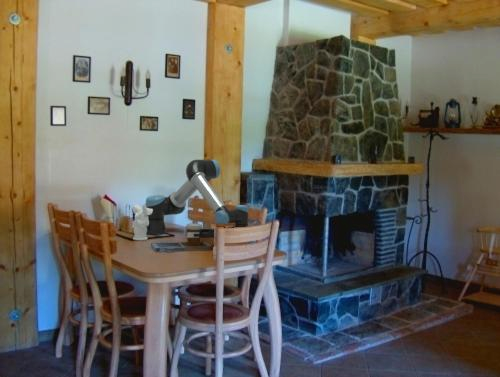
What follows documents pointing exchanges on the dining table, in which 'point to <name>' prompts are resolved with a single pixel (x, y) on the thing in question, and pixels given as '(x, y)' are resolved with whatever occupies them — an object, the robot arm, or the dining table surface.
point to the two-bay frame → (181, 246)
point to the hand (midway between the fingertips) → (185, 233)
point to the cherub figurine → (141, 221)
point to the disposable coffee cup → (194, 228)
